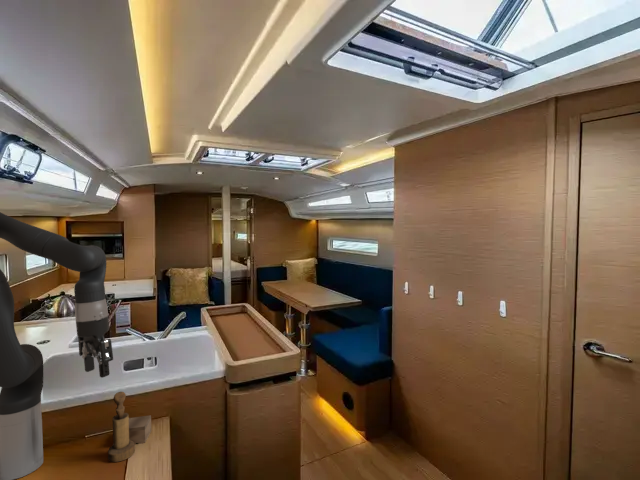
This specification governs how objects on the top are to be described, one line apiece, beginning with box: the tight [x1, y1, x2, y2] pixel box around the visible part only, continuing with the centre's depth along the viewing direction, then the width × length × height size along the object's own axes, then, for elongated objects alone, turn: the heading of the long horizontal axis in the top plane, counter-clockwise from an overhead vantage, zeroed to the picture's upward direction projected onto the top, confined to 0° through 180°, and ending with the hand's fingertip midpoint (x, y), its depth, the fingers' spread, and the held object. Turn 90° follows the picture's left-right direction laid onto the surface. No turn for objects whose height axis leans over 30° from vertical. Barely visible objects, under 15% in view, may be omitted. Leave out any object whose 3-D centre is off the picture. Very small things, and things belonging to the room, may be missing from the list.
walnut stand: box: [129, 415, 152, 445], centre depth 104 cm, size 8×6×5 cm
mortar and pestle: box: [107, 391, 136, 463], centre depth 96 cm, size 7×6×18 cm
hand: (97, 373), depth 94 cm, fingers open, 8 cm apart
